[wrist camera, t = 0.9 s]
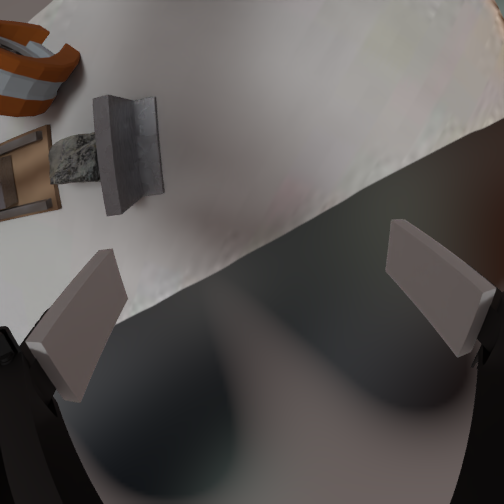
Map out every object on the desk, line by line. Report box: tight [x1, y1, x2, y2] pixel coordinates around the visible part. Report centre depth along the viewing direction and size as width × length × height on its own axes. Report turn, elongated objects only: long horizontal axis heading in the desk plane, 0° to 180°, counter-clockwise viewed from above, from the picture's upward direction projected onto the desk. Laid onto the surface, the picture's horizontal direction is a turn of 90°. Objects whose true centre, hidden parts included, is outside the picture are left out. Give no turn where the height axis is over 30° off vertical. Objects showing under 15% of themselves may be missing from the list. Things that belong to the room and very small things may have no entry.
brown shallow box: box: [0, 125, 62, 222], centre depth 34 cm, size 14×21×4 cm, turn 93°
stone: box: [48, 133, 101, 185], centre depth 34 cm, size 10×10×10 cm
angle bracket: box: [93, 95, 164, 216], centre depth 32 cm, size 14×5×10 cm, turn 3°
